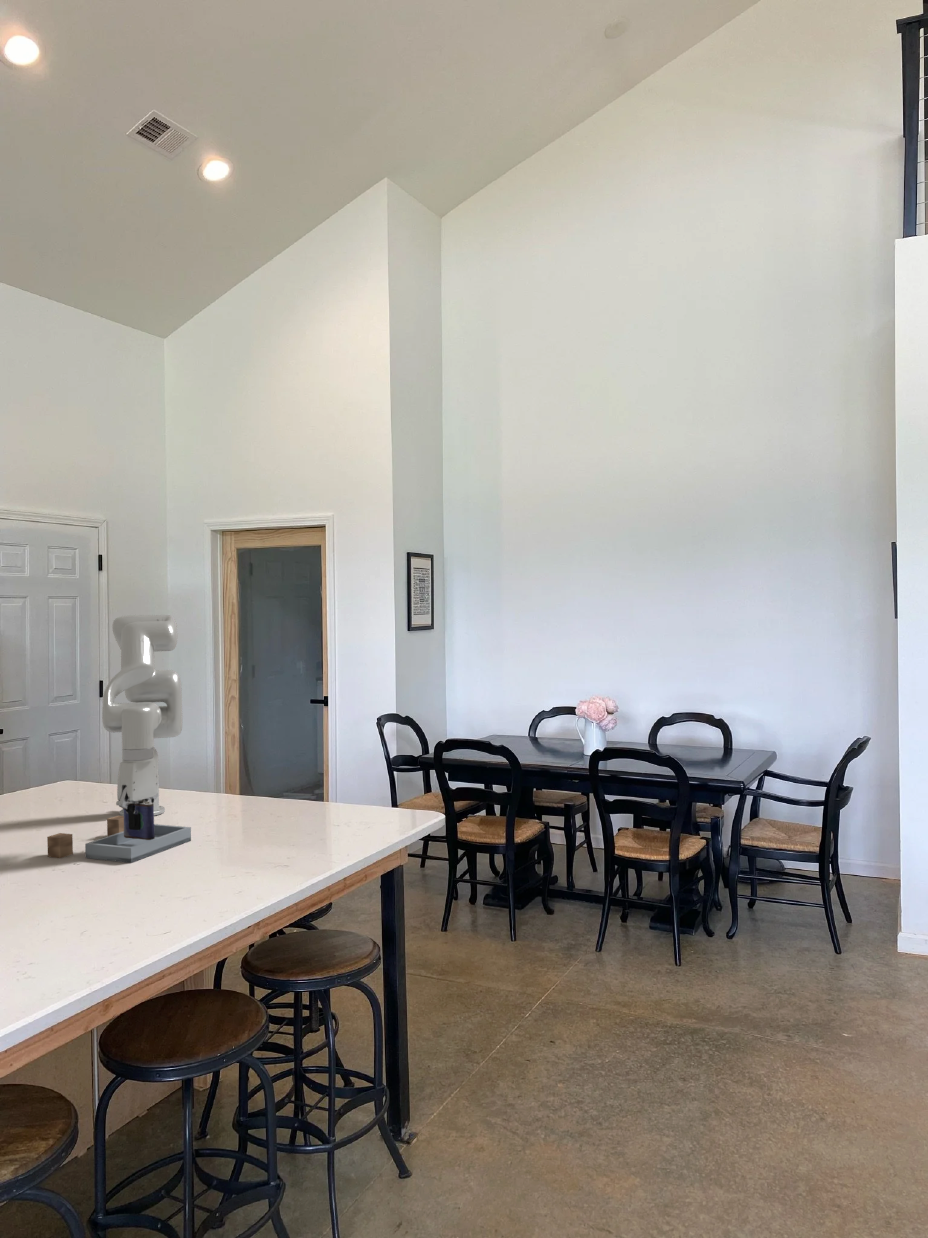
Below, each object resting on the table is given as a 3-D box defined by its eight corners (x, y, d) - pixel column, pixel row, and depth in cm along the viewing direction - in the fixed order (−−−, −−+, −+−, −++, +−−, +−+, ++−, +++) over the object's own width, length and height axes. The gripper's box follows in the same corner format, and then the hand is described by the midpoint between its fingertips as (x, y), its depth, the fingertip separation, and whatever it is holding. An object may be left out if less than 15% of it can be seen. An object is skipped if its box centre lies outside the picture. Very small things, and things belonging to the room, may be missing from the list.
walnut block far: (107, 837, 243) (107, 818, 243) (118, 834, 246) (117, 815, 246) (119, 838, 241) (118, 820, 241) (130, 835, 245) (129, 816, 245)
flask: (121, 837, 230) (121, 795, 230) (130, 835, 233) (129, 793, 233) (149, 840, 227) (149, 797, 227) (158, 838, 229) (157, 795, 229)
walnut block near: (47, 857, 224) (47, 836, 224) (60, 852, 228) (60, 833, 228) (60, 858, 223) (59, 838, 223) (72, 854, 226) (72, 834, 226)
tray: (85, 858, 222) (85, 843, 222) (147, 836, 243) (147, 823, 243) (131, 863, 217) (130, 848, 217) (191, 840, 238) (190, 827, 238)
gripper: (148, 749, 239) (149, 819, 239) (102, 759, 224) (104, 834, 224) (171, 750, 236) (173, 821, 236) (126, 760, 221) (128, 836, 221)
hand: (139, 827), depth 230 cm, fingers closed on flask, 2 cm apart
